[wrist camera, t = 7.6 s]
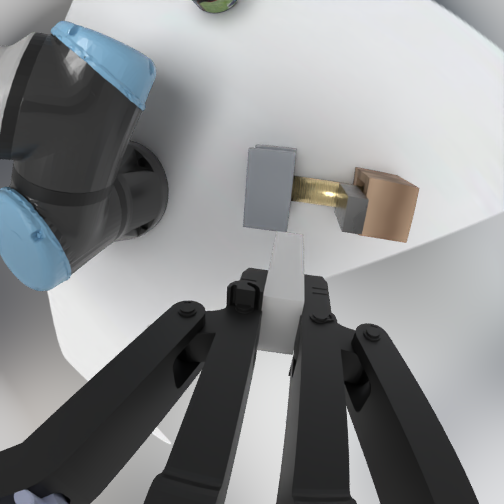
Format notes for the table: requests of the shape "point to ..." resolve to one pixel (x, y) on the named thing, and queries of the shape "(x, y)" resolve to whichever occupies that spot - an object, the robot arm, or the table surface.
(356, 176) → the socket block
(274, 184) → the grey slotted clamp block
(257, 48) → the table surface
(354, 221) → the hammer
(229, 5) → the beverage can
